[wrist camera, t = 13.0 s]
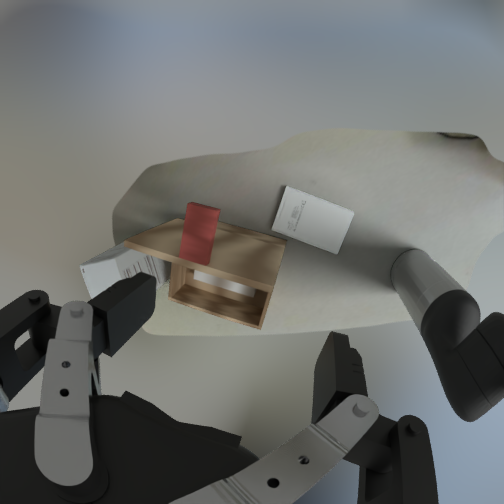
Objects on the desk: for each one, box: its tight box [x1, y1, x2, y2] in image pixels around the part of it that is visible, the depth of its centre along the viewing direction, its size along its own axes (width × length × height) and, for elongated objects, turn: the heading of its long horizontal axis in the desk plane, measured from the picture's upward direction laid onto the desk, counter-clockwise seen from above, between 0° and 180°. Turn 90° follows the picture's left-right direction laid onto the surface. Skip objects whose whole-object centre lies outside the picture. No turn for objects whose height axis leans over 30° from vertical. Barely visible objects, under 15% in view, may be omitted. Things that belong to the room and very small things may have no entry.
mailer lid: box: [124, 202, 285, 293], centre depth 35 cm, size 18×15×7 cm
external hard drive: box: [271, 186, 355, 254], centre depth 47 cm, size 2×8×12 cm
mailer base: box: [168, 219, 287, 330], centre depth 50 cm, size 18×15×7 cm
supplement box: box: [80, 242, 172, 299], centre depth 48 cm, size 10×9×17 cm
